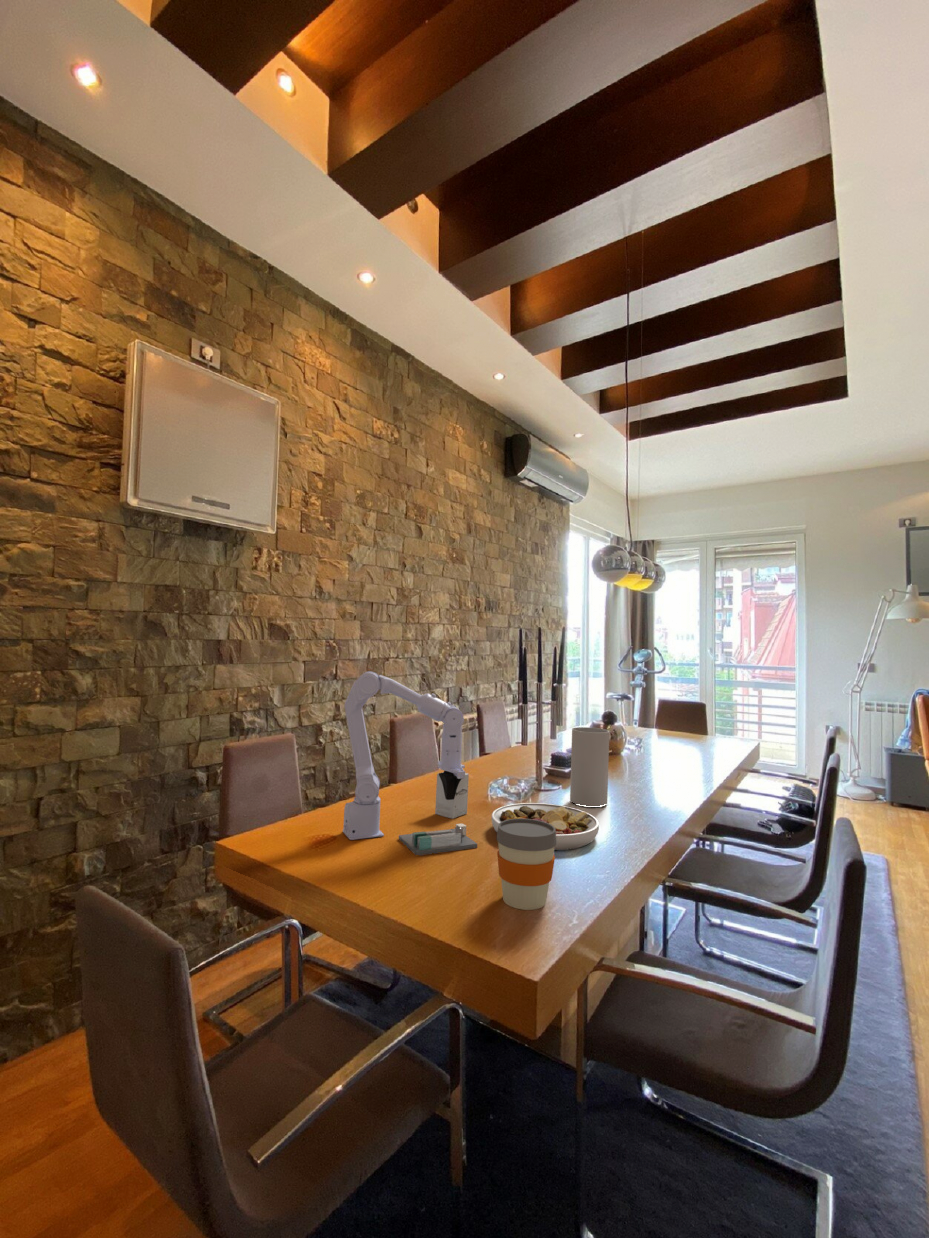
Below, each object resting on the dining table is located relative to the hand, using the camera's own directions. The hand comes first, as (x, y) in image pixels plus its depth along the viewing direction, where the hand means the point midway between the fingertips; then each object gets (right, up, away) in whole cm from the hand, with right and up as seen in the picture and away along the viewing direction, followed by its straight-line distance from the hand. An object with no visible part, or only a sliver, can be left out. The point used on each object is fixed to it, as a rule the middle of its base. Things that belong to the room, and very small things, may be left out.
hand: (449, 799), depth 161 cm
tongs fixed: (-2, -8, -13) cm, 15 cm away
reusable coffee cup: (+17, -9, -40) cm, 45 cm away
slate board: (-3, -9, -8) cm, 13 cm away
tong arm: (-4, -8, -12) cm, 15 cm away
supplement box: (0, -11, +18) cm, 21 cm away
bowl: (+27, -11, +2) cm, 29 cm away
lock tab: (+3, -8, -4) cm, 10 cm away
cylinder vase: (+47, -13, +37) cm, 61 cm away
